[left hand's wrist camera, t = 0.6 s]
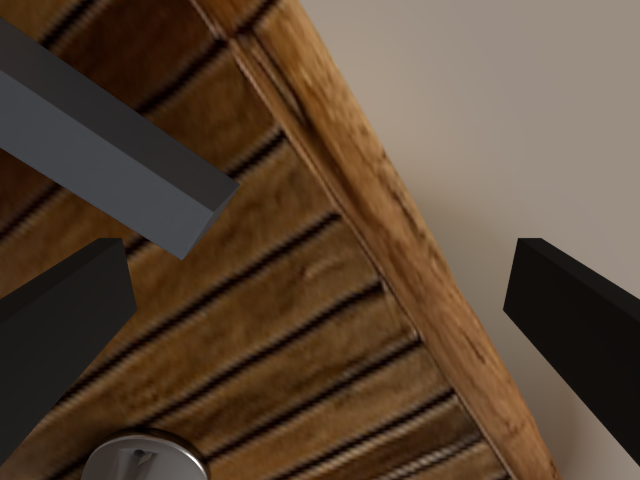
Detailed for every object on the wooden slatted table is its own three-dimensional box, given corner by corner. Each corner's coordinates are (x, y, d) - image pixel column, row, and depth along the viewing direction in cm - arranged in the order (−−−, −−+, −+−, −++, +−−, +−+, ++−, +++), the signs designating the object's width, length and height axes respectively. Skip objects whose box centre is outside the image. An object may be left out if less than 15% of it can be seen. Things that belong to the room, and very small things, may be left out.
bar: (240, 184, 33) (214, 212, 25) (214, 222, 35) (181, 260, 26) (-39, -11, 28) (-190, -58, 20) (-57, 42, 29) (-205, 20, 21)
